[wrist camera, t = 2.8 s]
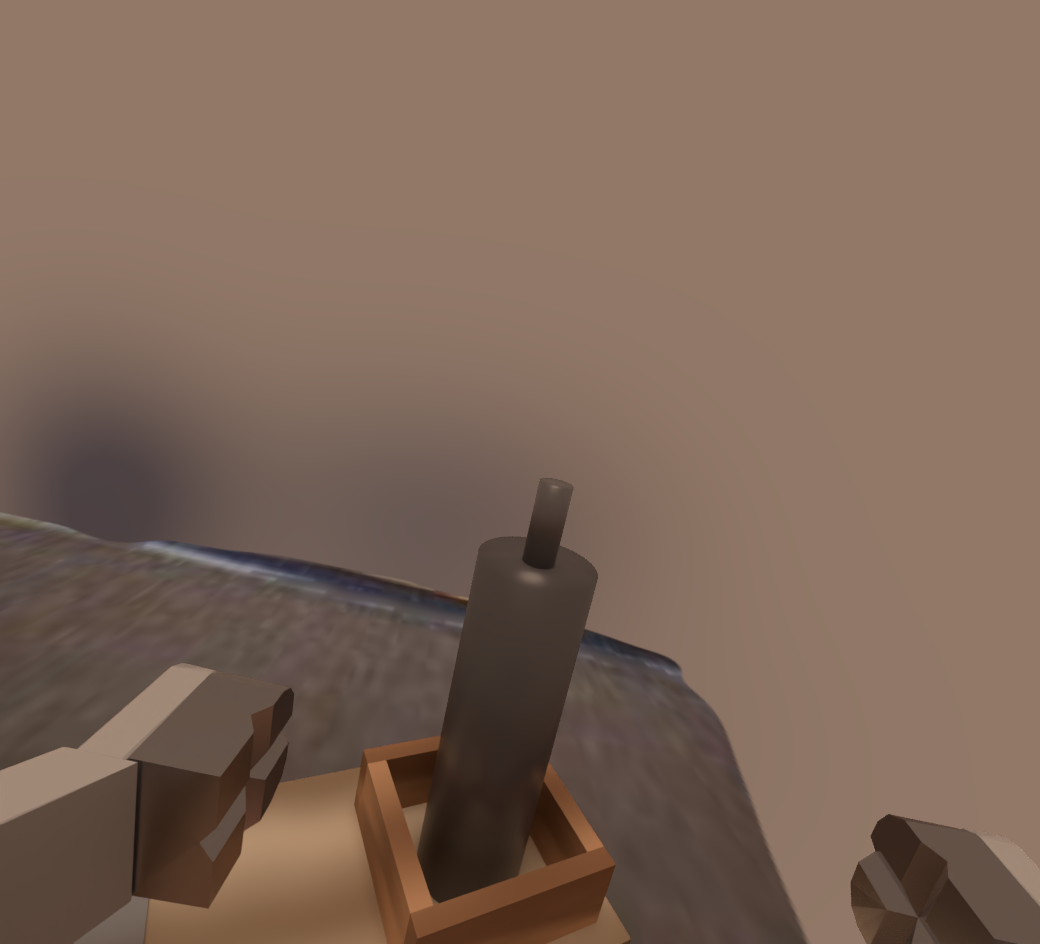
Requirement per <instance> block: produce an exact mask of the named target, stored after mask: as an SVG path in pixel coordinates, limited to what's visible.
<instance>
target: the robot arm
mask: <svg viewBox="0 0 1040 944" xmlns="http://www.w3.org/2000/svg"><path fill="white" fill-rule="evenodd" d="M293 699H294V693H293V691H292V689H291V688H290V687H285V686H281V685H277V684H273V683H268V682H264V681H260V680H256V679H252V678H247V677H243V676H239V675H235V674H230V673H226V672H222V671H218V672H217V671H215V670H211V669H207V668H202V667H198V666H194V665H189V664H185V663H181V664H178V665H175V666H172V667H170V668H169V669H168V670H167V671H165V672H164V673H163V674H162V675H161V676H160V677H159V678H157V679H156V680H155V681H154V682H153V683H152V684H151V685H149V686H148V687H147V688H146V689H145V690H144V691H143V692H141V693H140V694H139V695H138V696H137V697H136V698H135V699H133V700H132V701H131V702H130V703H129V704H128V705H127V706H125V707H124V708H123V709H122V710H121V711H120V712H119V713H118V714H116V715H115V716H114V717H113V718H112V719H111V720H110V721H108V722H107V723H106V724H105V725H104V726H103V727H102V728H100V729H99V730H98V731H97V732H96V733H95V734H94V735H92V736H91V737H90V738H89V739H88V740H87V741H86V742H84V743H83V744H82V745H81V746H80V747H79V748H78V749H72V748H67V747H62V748H59V749H57V750H54V751H51V752H49V753H46V754H43V755H41V756H38V757H35V758H33V759H30V760H27V761H25V762H22V763H19V764H17V765H14V766H11V767H9V768H6V769H3V770H1V771H0V944H73V943H74V942H75V941H77V940H78V939H80V938H81V937H82V936H84V935H85V934H87V933H88V932H89V931H91V930H92V929H93V928H95V927H96V926H98V925H99V924H100V923H102V922H103V921H104V920H106V919H107V918H109V917H110V916H111V915H113V914H114V913H115V912H117V911H118V910H120V909H121V908H122V907H124V906H125V905H127V904H128V903H129V902H131V899H132V896H137V897H143V898H148V899H154V900H160V901H166V902H172V903H178V904H184V905H189V906H195V907H201V908H207V909H209V907H210V905H211V904H212V902H213V900H214V899H215V897H216V895H217V894H218V892H219V890H220V888H221V887H222V885H223V883H224V882H225V880H226V878H227V877H228V875H229V873H230V872H231V870H232V868H233V867H234V865H235V863H236V861H237V860H238V858H239V856H240V855H241V850H242V842H243V833H244V831H245V830H246V829H248V828H250V827H251V826H253V825H255V824H256V823H258V822H259V821H261V819H262V817H263V815H264V813H265V812H266V810H267V808H268V806H269V805H270V803H271V801H272V799H273V796H274V794H275V791H276V789H277V787H278V784H279V782H280V779H281V777H282V773H283V769H284V765H285V762H286V757H287V750H288V743H289V742H288V740H287V739H286V737H285V735H284V734H283V732H282V729H283V728H284V726H285V725H286V723H287V721H288V720H289V718H290V717H291V715H292V710H293ZM871 839H872V842H873V845H874V848H875V852H874V853H872V854H870V855H869V856H867V857H866V858H864V859H863V860H861V861H859V862H858V865H857V867H856V870H855V872H854V875H853V878H852V880H851V904H852V909H853V912H854V916H855V919H856V922H857V926H858V928H859V930H860V932H861V933H862V936H863V937H864V939H865V941H866V943H867V944H1040V869H1039V868H1038V867H1037V866H1036V865H1035V864H1034V862H1033V861H1032V860H1031V859H1030V858H1029V857H1028V856H1027V855H1026V854H1025V853H1024V852H1023V851H1022V850H1021V849H1020V848H1019V846H1017V845H1016V844H1014V843H1012V842H1011V841H1009V840H1008V839H1006V838H1005V837H1003V836H1001V835H996V834H990V833H985V832H979V831H974V830H969V829H957V828H953V827H949V826H944V825H938V824H934V823H929V822H924V821H919V820H914V819H910V818H905V817H900V816H895V815H890V814H888V815H886V816H885V817H884V818H882V819H881V820H879V821H878V822H877V824H876V826H875V828H874V830H873V832H872V834H871Z"/></svg>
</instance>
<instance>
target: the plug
mask: <svg viewBox="0 0 1040 944" xmlns="http://www.w3.org/2000/svg"><path fill="white" fill-rule="evenodd" d="M572 492H573V486H572V485H571V484H569V483H567V482H564V481H561V480H557V479H552V478H542V479H540V482H539V487H538V490H537V495H536V499H535V504H534V509H533V512H532V517H531V521H530V526H529V530H528V535H527V538H526V537H499V538H494V539H491V540H488V541H486V542H484V543H483V544H482V545H481V546H480V548H479V551H478V556H477V561H476V566H475V571H474V575H473V580H472V585H471V590H470V595H469V600H468V605H467V610H466V615H465V619H464V624H463V629H462V634H461V639H460V644H459V649H458V654H457V659H456V664H455V669H454V673H453V678H452V683H451V688H450V693H449V698H448V703H447V708H446V713H445V718H444V722H443V727H442V732H441V737H440V742H439V747H438V752H437V757H436V762H435V767H434V772H433V776H432V781H431V786H430V791H429V796H428V801H427V806H426V811H425V816H424V821H423V826H422V830H421V835H420V840H419V845H418V850H417V857H418V860H419V863H420V866H421V869H422V872H423V875H424V878H425V881H426V884H427V887H428V890H429V893H430V895H431V896H432V898H433V899H434V900H436V901H437V902H438V903H442V902H445V901H448V900H450V899H453V898H456V897H459V896H462V895H465V894H468V893H471V892H474V891H476V890H479V889H482V888H485V887H488V886H491V885H494V884H497V883H500V882H502V881H505V880H508V879H511V878H514V877H517V876H518V875H519V871H520V868H521V864H522V860H523V856H524V853H525V849H526V845H527V841H528V838H529V834H530V830H531V826H532V823H533V819H534V815H535V812H536V808H537V804H538V800H539V797H540V793H541V789H542V785H543V782H544V778H545V774H546V770H547V767H548V763H549V759H550V755H551V752H552V748H553V744H554V740H555V737H556V733H557V729H558V725H559V722H560V718H561V714H562V710H563V707H564V703H565V699H566V696H567V692H568V688H569V684H570V681H571V677H572V673H573V669H574V666H575V662H576V658H577V654H578V651H579V647H580V643H581V639H582V636H583V632H584V628H585V624H586V621H587V617H588V613H589V609H590V606H591V602H592V598H593V594H594V591H595V587H596V583H597V579H598V574H597V571H596V569H595V568H594V567H593V565H592V564H591V563H590V562H589V561H587V560H586V559H585V558H583V557H582V556H580V555H578V554H577V553H575V552H573V551H571V550H569V549H567V548H565V547H562V546H560V541H561V537H562V533H563V529H564V525H565V521H566V517H567V512H568V508H569V504H570V500H571V496H572Z"/></svg>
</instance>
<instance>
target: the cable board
mask: <svg viewBox="0 0 1040 944" xmlns="http://www.w3.org/2000/svg"><path fill="white" fill-rule="evenodd" d="M440 737H441V736H436V737H430V738H425V739H419V740H414V741H409V742H403V743H398V744H392V745H387V746H381V747H376V748H371V749H365V750H363V756H362V762H361V767H359V768H354V769H349V770H344V771H339V772H333V773H328V774H323V775H318V776H313V777H308V778H303V779H298V780H293V781H288V782H283V783H279V784H278V787H277V789H276V791H275V794H274V796H273V799H272V801H271V803H270V805H269V806H268V808H267V810H266V812H265V813H264V815H263V817H262V819H261V821H259V822H258V823H256V824H255V825H253V826H251V827H250V828H248V829H246V830H245V831H244V833H243V842H242V850H241V855H240V856H239V858H238V860H237V861H236V863H235V865H234V867H233V868H232V870H231V872H230V873H229V875H228V877H227V878H226V880H225V882H224V883H223V885H222V887H221V888H220V890H219V892H218V894H217V895H216V897H215V899H214V900H213V902H212V904H211V905H210V907H209V909H207V908H201V907H195V906H189V905H184V904H178V903H172V902H166V901H160V900H154V899H148V898H143V897H137V896H132V899H131V902H129V903H128V904H127V905H125V906H124V907H122V908H121V909H120V910H118V911H117V912H115V913H114V914H113V915H111V916H110V917H109V918H107V919H106V920H104V921H103V922H102V923H100V924H99V925H98V926H96V927H95V928H93V929H92V930H91V931H89V932H88V933H87V934H85V935H84V936H82V937H81V938H80V939H78V940H77V941H75V942H74V943H73V944H630V941H631V938H630V936H629V935H628V933H627V931H626V930H625V928H624V926H623V925H622V923H621V922H620V920H619V918H618V917H617V915H616V913H615V912H614V910H613V908H612V907H611V905H610V903H609V902H608V900H607V898H606V897H605V895H606V892H607V889H608V886H609V883H610V880H611V877H612V874H613V871H614V868H615V863H614V862H613V860H612V858H611V857H610V855H609V854H608V852H607V851H606V849H605V848H604V846H603V845H602V843H601V842H600V840H599V838H598V837H597V835H596V834H595V832H594V831H593V829H592V828H591V826H590V825H589V823H588V822H587V820H586V818H585V817H584V815H583V814H582V812H581V811H580V809H579V808H578V806H577V805H576V803H575V802H574V800H573V798H572V797H571V795H570V794H569V792H568V791H567V789H566V788H565V786H564V785H563V783H562V782H561V780H560V778H559V777H558V775H557V774H556V772H555V771H554V769H553V768H552V766H551V765H550V763H548V767H547V770H546V774H545V778H544V782H543V785H542V789H541V793H540V797H539V800H538V804H537V808H536V812H535V815H534V819H533V823H532V826H531V830H530V834H529V838H528V841H527V845H526V849H525V853H524V856H523V860H522V864H521V868H520V871H519V875H518V876H517V877H514V878H511V879H508V880H505V881H502V882H500V883H497V884H494V885H491V886H488V887H485V888H482V889H479V890H476V891H474V892H471V893H468V894H465V895H462V896H459V897H456V898H453V899H450V900H448V901H445V902H442V903H438V902H437V901H436V900H434V899H433V898H432V896H431V895H430V893H429V890H428V887H427V884H426V881H425V878H424V875H423V872H422V869H421V866H420V863H419V860H418V857H417V850H418V845H419V840H420V835H421V830H422V826H423V821H424V816H425V811H426V806H427V801H428V796H429V791H430V786H431V781H432V776H433V772H434V767H435V762H436V757H437V752H438V747H439V742H440Z"/></svg>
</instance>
